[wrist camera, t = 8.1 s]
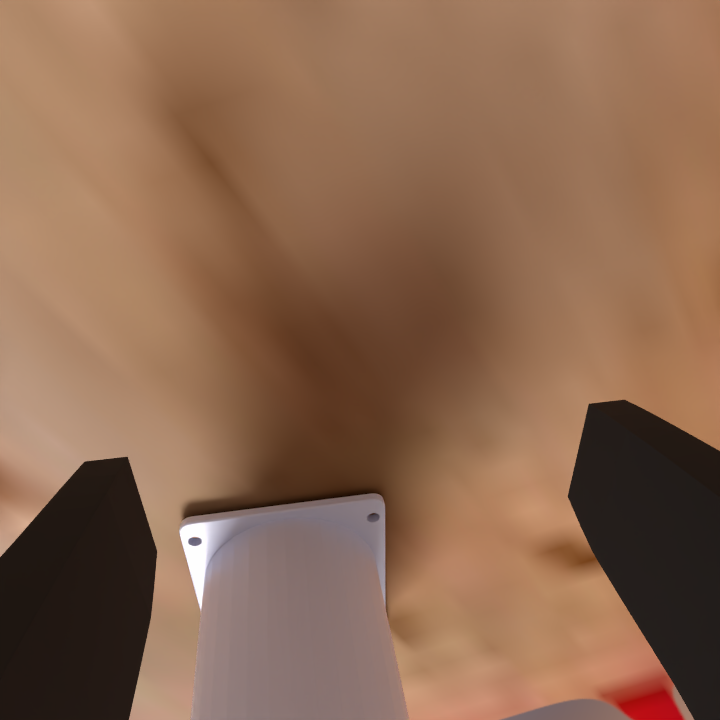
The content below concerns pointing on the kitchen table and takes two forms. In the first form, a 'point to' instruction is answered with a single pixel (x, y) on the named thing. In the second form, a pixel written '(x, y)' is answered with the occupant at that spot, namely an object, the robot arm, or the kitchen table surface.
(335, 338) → the kitchen table surface
